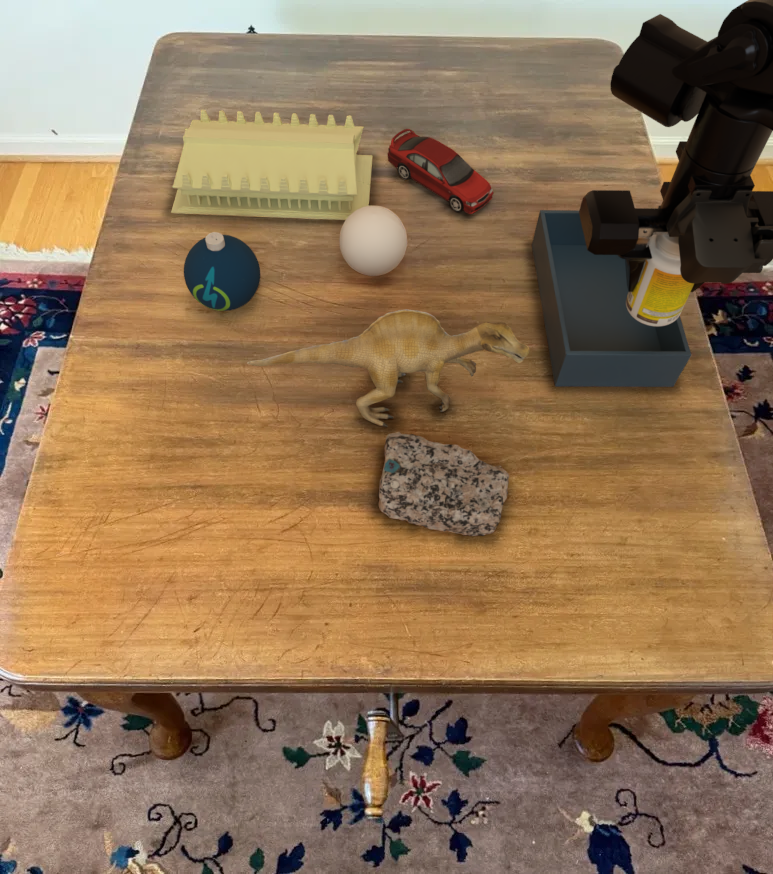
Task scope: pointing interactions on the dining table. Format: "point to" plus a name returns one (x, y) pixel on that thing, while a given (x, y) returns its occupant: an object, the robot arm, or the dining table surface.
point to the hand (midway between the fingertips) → (659, 289)
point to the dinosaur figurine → (405, 354)
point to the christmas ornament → (222, 272)
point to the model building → (272, 168)
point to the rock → (440, 486)
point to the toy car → (439, 171)
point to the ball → (373, 240)
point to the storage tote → (597, 315)
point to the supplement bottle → (660, 285)
